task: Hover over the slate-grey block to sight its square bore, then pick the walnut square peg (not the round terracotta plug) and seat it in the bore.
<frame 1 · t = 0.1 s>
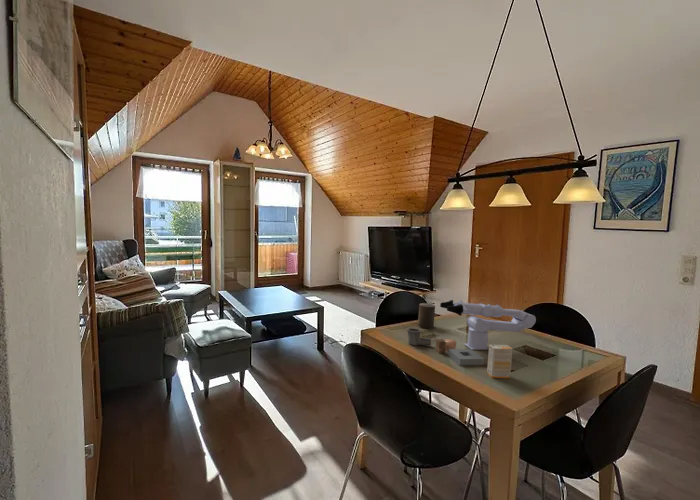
hand: (443, 306, 173), 22 cm above the table, tool horizontal, fingers open, 7 cm apart
pillar candle: (425, 326, 210), on the table
pipe: (418, 345, 177), on the table
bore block: (465, 359, 160), on the table
supplement box: (498, 376, 144), on the table
square peg: (440, 352, 168), on the table
round plug: (449, 350, 171), on the table
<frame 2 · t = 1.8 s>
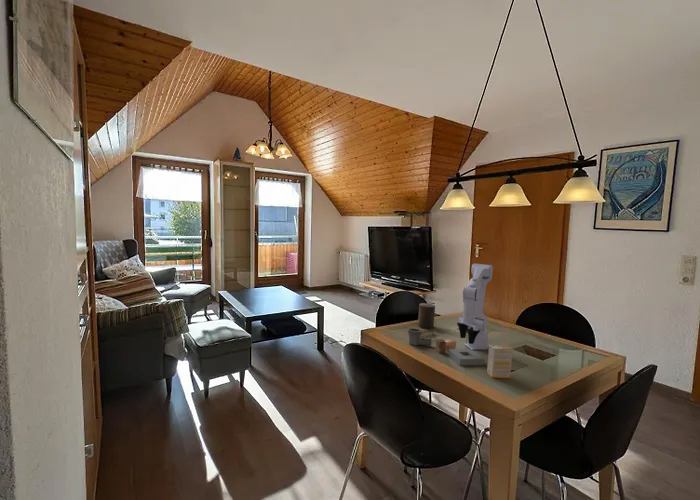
hand: (466, 340, 159), 9 cm above the table, tool pointing down, fingers open, 7 cm apart
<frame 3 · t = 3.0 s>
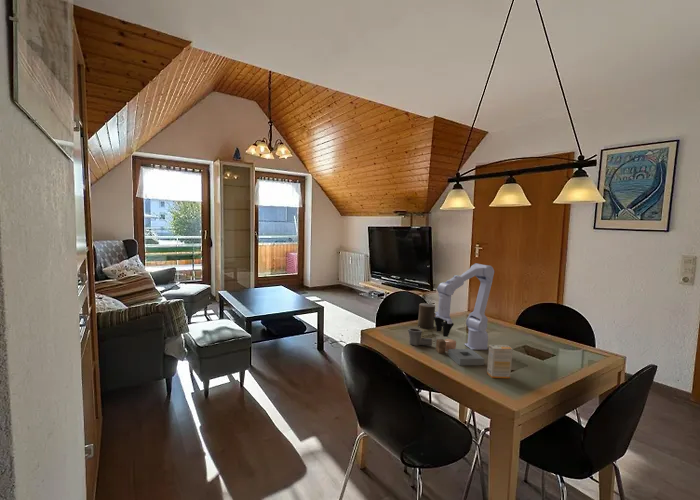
hand: (442, 333, 167), 9 cm above the table, tool pointing down, fingers open, 7 cm apart
nothing on the table moved.
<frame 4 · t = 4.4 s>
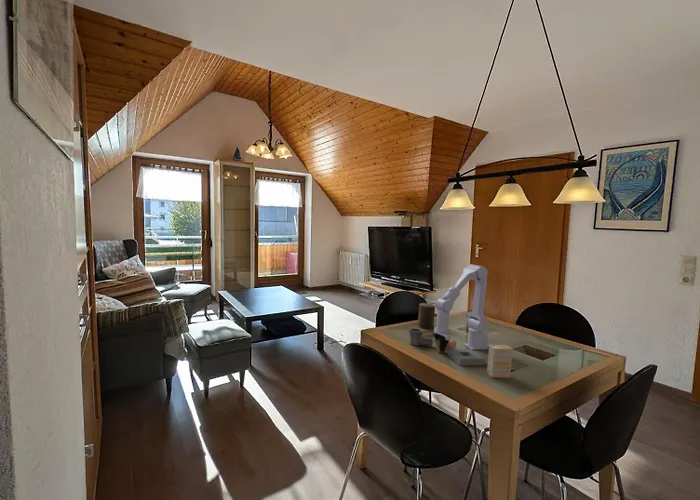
hand: (440, 349, 168), 1 cm above the table, tool pointing down, fingers closed on square peg, 3 cm apart
square peg: (440, 352, 168), on the table, touching gripper
everything else where it was.
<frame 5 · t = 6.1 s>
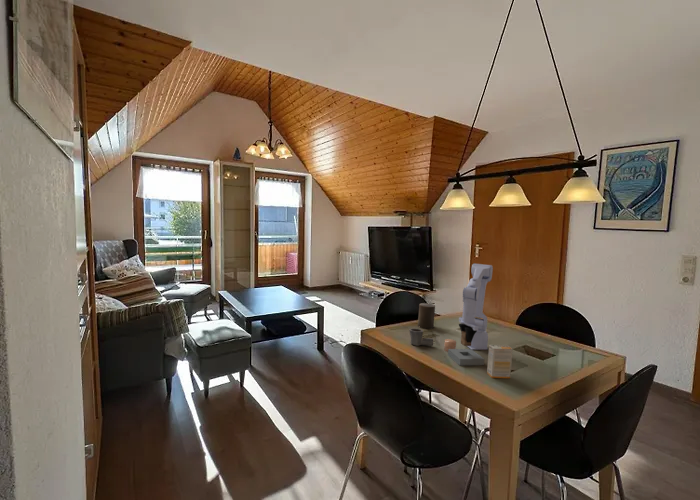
hand: (466, 340, 159), 9 cm above the table, tool pointing down, fingers closed on square peg, 3 cm apart
square peg: (465, 344, 159), point 7 cm above the table, touching gripper
when the fingers open (4 cm above the table, at t = 7.8 s): square peg drops 2 cm, resting in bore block.
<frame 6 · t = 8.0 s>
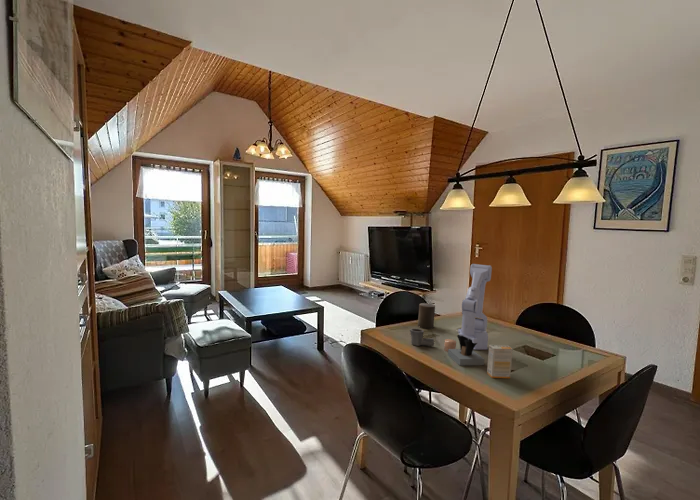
hand: (465, 352, 160), 4 cm above the table, tool pointing down, fingers open, 5 cm apart
square peg: (464, 359, 160), resting in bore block, tilted 6°
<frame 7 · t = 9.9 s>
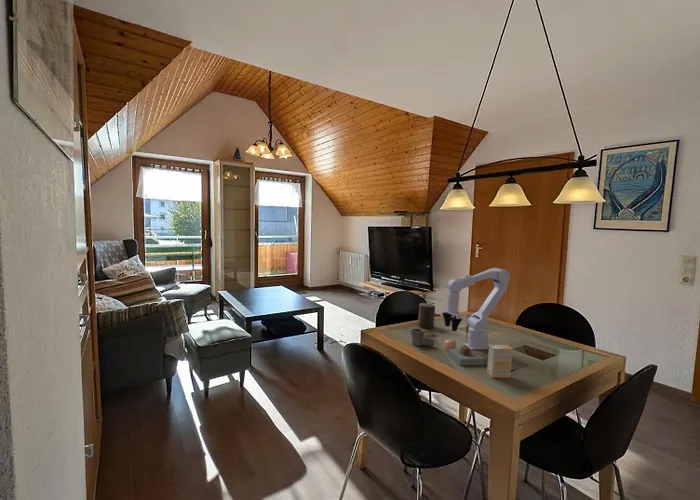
hand: (450, 328, 175), 10 cm above the table, tool pointing down, fingers open, 7 cm apart
square peg: (464, 360, 160), resting in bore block
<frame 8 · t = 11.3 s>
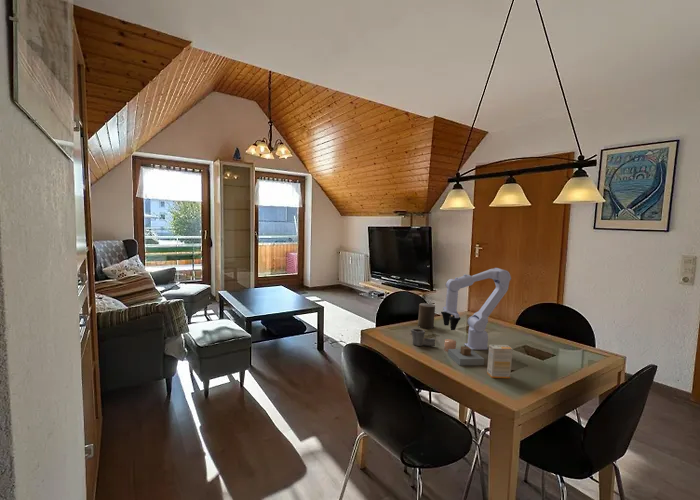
hand: (449, 327, 177), 10 cm above the table, tool pointing down, fingers open, 7 cm apart
at the end: square peg 0.2 cm off-centre on the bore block, point 0.0 cm above the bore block's base; square peg tilted 0°; the gripper is holding nothing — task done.
